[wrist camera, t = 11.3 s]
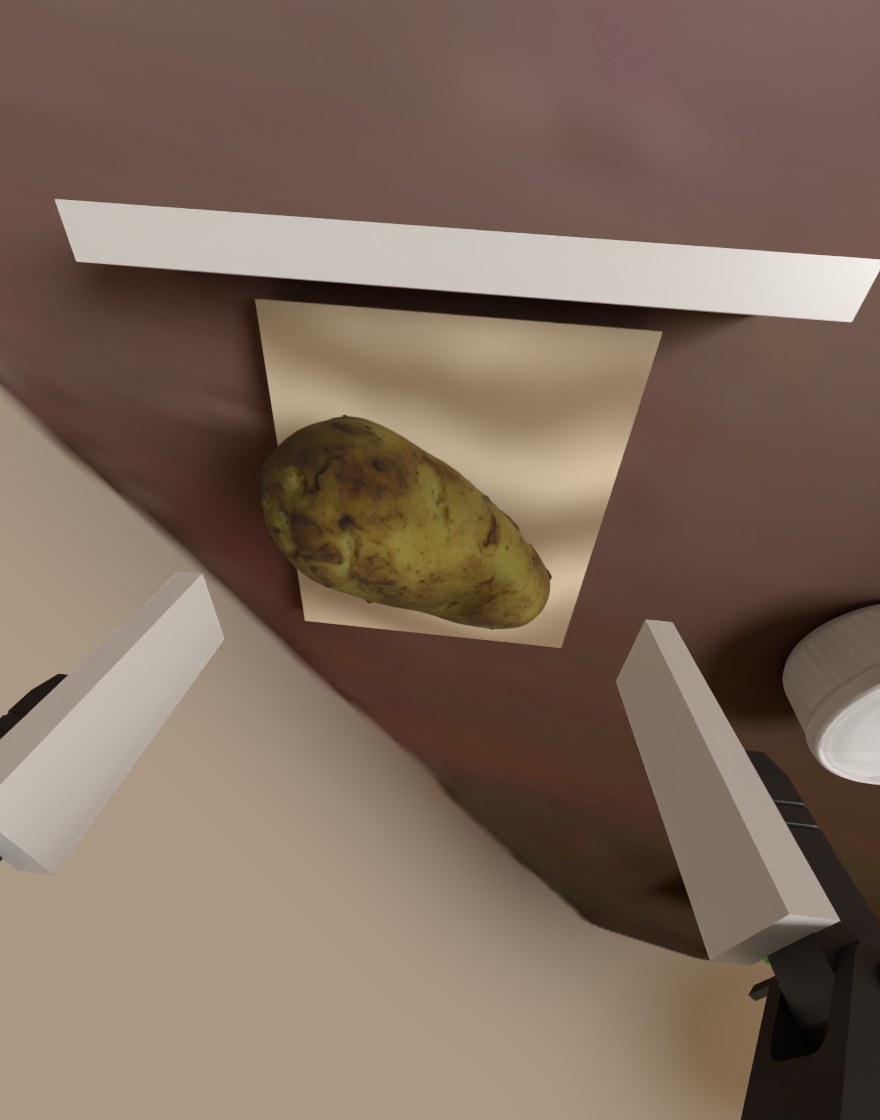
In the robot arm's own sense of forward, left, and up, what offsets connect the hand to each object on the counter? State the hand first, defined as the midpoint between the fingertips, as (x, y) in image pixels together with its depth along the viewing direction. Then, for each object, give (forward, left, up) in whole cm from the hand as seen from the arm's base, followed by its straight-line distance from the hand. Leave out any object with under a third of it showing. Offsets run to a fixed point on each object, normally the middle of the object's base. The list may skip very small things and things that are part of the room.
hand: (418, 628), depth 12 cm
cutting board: (0, 0, -11) cm, 11 cm away
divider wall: (-10, 0, -11) cm, 14 cm away
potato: (0, -1, -9) cm, 9 cm away
